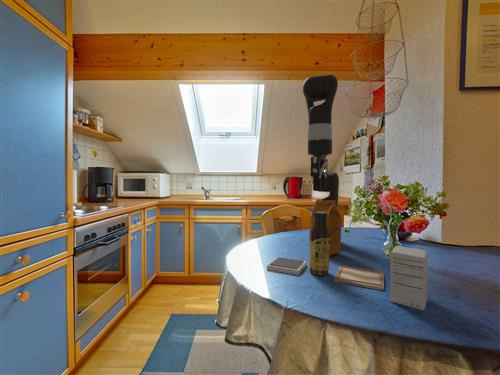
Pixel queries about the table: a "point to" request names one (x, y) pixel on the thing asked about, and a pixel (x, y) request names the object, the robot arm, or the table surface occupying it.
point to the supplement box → (409, 277)
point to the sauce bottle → (319, 245)
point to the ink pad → (287, 265)
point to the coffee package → (329, 223)
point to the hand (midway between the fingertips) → (319, 190)
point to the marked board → (360, 277)
